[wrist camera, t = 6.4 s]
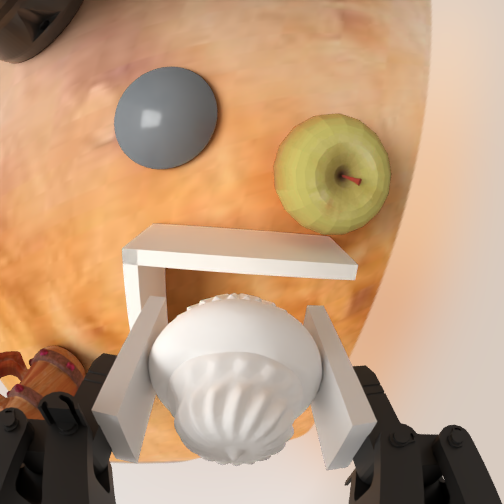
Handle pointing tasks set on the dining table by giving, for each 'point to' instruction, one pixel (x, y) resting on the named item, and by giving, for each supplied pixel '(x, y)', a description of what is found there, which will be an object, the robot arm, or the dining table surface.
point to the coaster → (165, 118)
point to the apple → (332, 174)
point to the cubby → (225, 257)
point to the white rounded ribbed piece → (235, 377)
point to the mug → (40, 378)
